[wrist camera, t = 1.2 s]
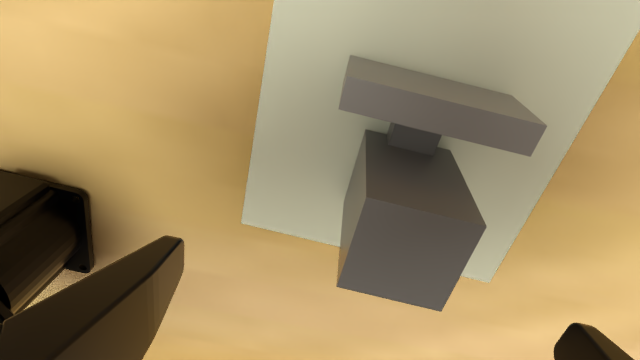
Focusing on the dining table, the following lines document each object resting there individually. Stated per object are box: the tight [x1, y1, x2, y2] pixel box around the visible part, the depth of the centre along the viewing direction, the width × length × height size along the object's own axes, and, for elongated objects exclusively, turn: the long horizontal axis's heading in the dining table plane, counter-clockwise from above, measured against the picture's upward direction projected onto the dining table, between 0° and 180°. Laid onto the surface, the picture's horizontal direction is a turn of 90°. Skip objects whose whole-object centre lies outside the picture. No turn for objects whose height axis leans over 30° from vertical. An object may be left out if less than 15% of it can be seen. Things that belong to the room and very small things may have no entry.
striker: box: [337, 55, 547, 311], centre depth 15 cm, size 7×7×6 cm
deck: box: [241, 0, 640, 283], centre depth 17 cm, size 21×14×2 cm, turn 167°
